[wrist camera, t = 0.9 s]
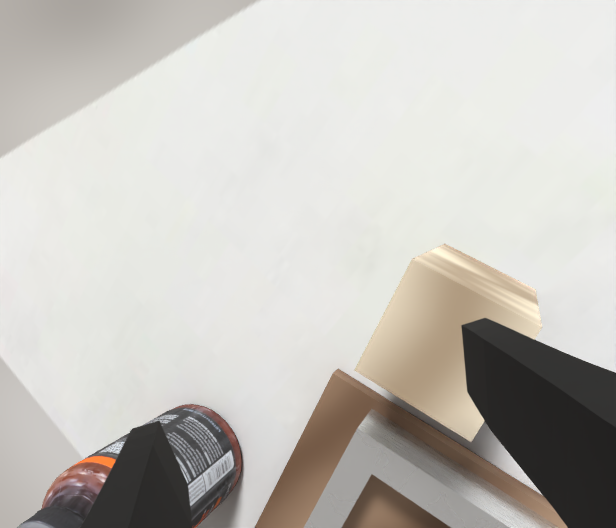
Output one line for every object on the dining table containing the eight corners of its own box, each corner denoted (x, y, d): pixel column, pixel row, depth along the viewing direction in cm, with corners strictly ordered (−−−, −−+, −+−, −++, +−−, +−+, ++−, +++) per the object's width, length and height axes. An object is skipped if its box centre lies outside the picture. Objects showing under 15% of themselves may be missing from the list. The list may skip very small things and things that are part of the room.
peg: (535, 289, 23) (542, 327, 16) (486, 371, 24) (471, 442, 17) (445, 243, 24) (412, 258, 17) (402, 323, 26) (354, 370, 18)
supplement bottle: (196, 515, 31) (35, 667, 21) (144, 430, 32) (-36, 536, 22) (265, 470, 29) (124, 615, 19) (207, 381, 30) (41, 472, 20)
